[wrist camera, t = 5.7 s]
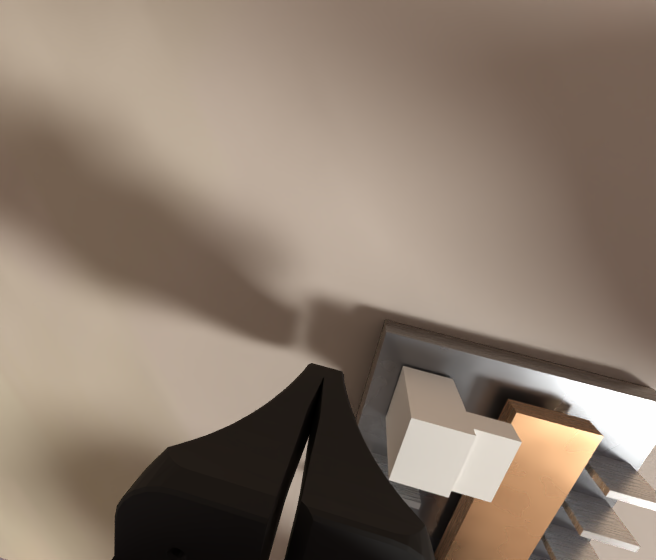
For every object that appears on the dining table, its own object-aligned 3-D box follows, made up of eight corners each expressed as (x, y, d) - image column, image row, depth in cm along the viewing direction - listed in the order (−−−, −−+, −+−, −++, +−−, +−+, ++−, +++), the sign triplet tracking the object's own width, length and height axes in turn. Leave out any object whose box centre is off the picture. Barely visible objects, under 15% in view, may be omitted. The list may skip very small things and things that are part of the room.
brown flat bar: (591, 417, 12) (618, 445, 11) (488, 592, 15) (499, 631, 14) (496, 391, 12) (511, 416, 11) (415, 569, 16) (419, 605, 14)
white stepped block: (491, 389, 12) (526, 450, 9) (468, 440, 13) (494, 511, 10) (403, 365, 13) (411, 417, 10) (385, 417, 13) (388, 480, 11)
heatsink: (652, 388, 13) (732, 446, 10) (524, 592, 17) (554, 675, 14) (385, 319, 14) (388, 355, 11) (322, 529, 17) (312, 595, 15)
